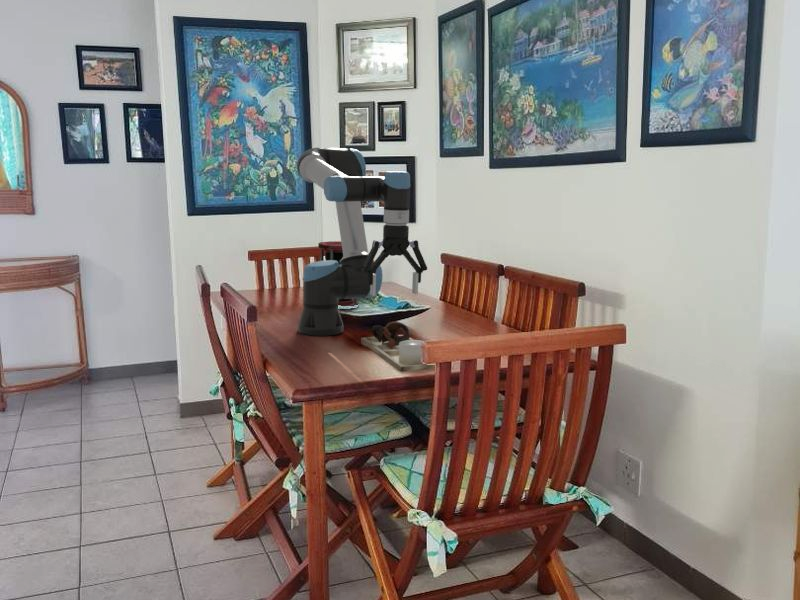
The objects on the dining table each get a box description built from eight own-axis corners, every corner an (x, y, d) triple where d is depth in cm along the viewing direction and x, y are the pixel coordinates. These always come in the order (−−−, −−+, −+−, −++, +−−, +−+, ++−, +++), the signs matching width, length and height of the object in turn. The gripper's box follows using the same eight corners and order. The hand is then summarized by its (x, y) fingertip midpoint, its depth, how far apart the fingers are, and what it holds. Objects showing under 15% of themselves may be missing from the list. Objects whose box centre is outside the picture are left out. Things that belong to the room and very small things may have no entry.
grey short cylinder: (405, 366, 202) (405, 348, 201) (394, 357, 210) (394, 341, 209) (435, 363, 205) (435, 346, 204) (422, 355, 214) (423, 339, 213)
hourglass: (328, 301, 298) (328, 240, 294) (365, 304, 293) (365, 242, 289) (311, 308, 283) (311, 244, 279) (350, 311, 278) (350, 246, 274)
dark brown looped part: (408, 343, 230) (414, 323, 225) (402, 362, 223) (407, 343, 218) (371, 332, 230) (376, 312, 225) (364, 351, 223) (369, 331, 218)
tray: (401, 374, 197) (401, 367, 197) (360, 343, 229) (361, 337, 229) (451, 369, 202) (452, 362, 202) (405, 340, 235) (405, 334, 234)
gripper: (359, 225, 209) (358, 298, 213) (439, 225, 218) (436, 295, 222) (352, 223, 216) (350, 293, 220) (429, 222, 224) (427, 290, 229)
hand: (394, 294), depth 221 cm, fingers open, 13 cm apart
